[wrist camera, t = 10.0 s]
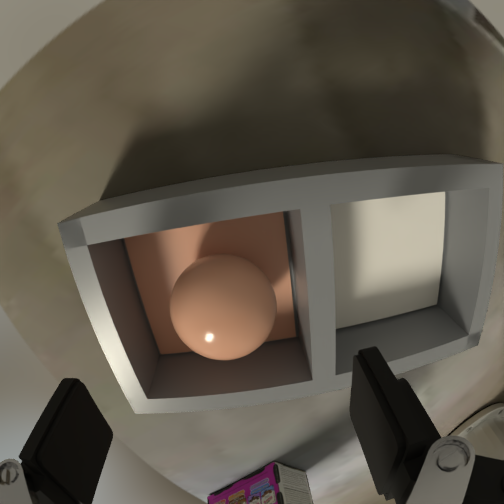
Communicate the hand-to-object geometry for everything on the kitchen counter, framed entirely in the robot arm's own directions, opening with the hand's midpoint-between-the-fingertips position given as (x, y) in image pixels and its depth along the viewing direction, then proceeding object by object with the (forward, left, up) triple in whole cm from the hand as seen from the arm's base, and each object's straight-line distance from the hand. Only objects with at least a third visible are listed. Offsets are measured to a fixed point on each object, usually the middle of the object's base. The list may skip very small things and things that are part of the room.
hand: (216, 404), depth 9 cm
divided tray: (-5, 0, -9) cm, 10 cm away
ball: (0, 0, -6) cm, 6 cm away
